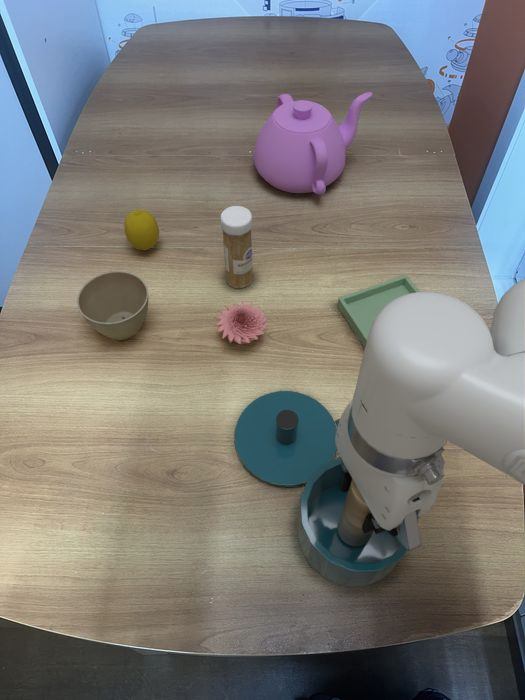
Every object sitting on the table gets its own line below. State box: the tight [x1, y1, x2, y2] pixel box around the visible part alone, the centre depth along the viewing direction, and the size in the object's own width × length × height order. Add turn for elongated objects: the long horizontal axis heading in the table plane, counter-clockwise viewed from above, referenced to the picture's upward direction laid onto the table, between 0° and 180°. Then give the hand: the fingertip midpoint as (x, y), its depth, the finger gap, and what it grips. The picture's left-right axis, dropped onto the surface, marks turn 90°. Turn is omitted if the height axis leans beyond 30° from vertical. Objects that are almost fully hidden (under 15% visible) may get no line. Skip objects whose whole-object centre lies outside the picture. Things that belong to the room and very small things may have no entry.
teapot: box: [253, 91, 373, 195], centre depth 99 cm, size 22×22×14 cm
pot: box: [296, 456, 419, 588], centre depth 62 cm, size 13×13×8 cm
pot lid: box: [234, 390, 338, 487], centre depth 69 cm, size 14×14×6 cm
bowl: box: [76, 270, 149, 341], centre depth 80 cm, size 10×10×7 cm
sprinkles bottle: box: [220, 205, 254, 289], centre depth 83 cm, size 5×5×14 cm
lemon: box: [123, 209, 160, 251], centre depth 89 cm, size 6×6×8 cm
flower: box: [213, 300, 269, 345], centre depth 79 cm, size 8×8×6 cm
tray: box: [336, 274, 420, 349], centre depth 81 cm, size 15×12×2 cm
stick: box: [338, 479, 374, 547], centre depth 58 cm, size 4×4×14 cm
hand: (364, 504), depth 57 cm, fingers closed on stick, 4 cm apart
